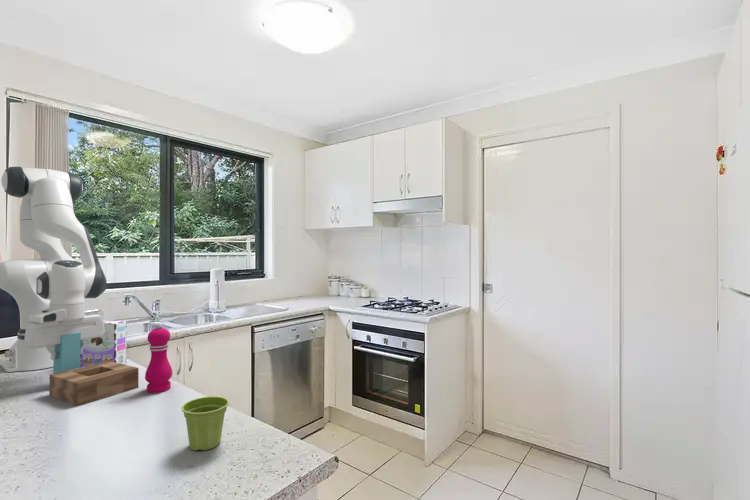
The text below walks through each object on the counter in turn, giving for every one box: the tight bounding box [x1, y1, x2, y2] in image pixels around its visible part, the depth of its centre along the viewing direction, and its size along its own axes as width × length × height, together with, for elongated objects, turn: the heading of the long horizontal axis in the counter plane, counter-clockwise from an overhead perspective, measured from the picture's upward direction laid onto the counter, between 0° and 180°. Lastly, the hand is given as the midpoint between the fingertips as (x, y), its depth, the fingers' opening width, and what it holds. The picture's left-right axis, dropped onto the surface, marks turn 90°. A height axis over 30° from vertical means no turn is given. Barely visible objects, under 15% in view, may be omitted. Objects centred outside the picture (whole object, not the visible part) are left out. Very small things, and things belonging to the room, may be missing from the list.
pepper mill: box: [144, 322, 173, 394], centre depth 117 cm, size 7×7×20 cm
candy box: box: [80, 320, 127, 368], centre depth 140 cm, size 14×6×16 cm, turn 84°
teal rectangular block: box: [52, 332, 81, 374], centre depth 121 cm, size 5×5×14 cm
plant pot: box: [181, 395, 230, 451], centre depth 83 cm, size 9×9×9 cm
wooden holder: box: [48, 361, 139, 407], centre depth 115 cm, size 16×16×6 cm
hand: (67, 356), depth 121 cm, fingers closed on teal rectangular block, 5 cm apart
